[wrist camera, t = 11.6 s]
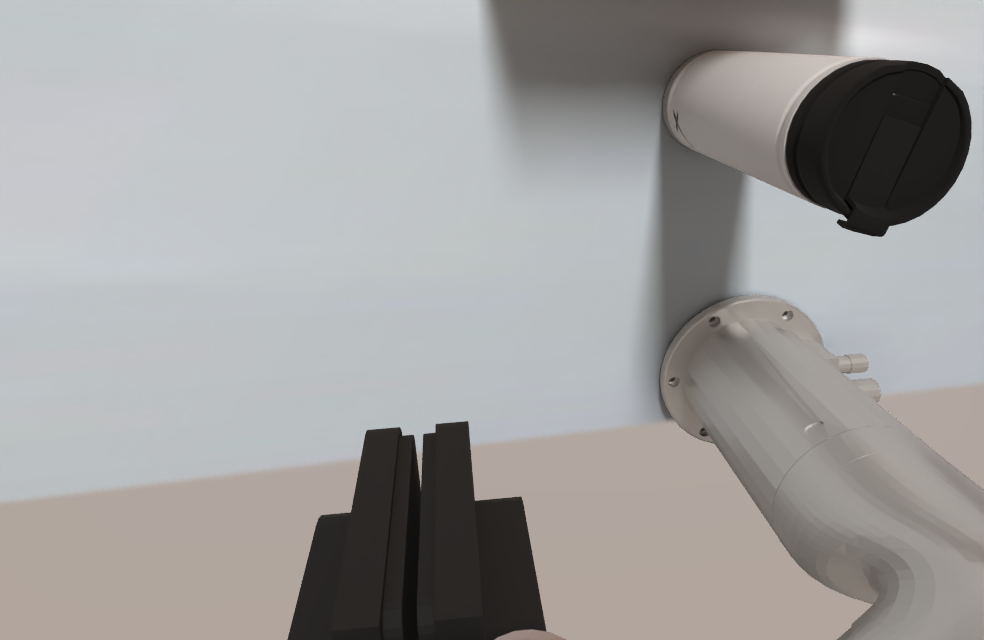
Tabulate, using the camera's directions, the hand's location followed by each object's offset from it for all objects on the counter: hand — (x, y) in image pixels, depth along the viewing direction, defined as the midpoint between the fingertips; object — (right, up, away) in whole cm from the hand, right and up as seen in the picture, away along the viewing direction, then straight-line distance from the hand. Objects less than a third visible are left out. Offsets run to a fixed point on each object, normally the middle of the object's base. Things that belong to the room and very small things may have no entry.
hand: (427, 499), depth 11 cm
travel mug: (+15, +17, +32) cm, 40 cm away
